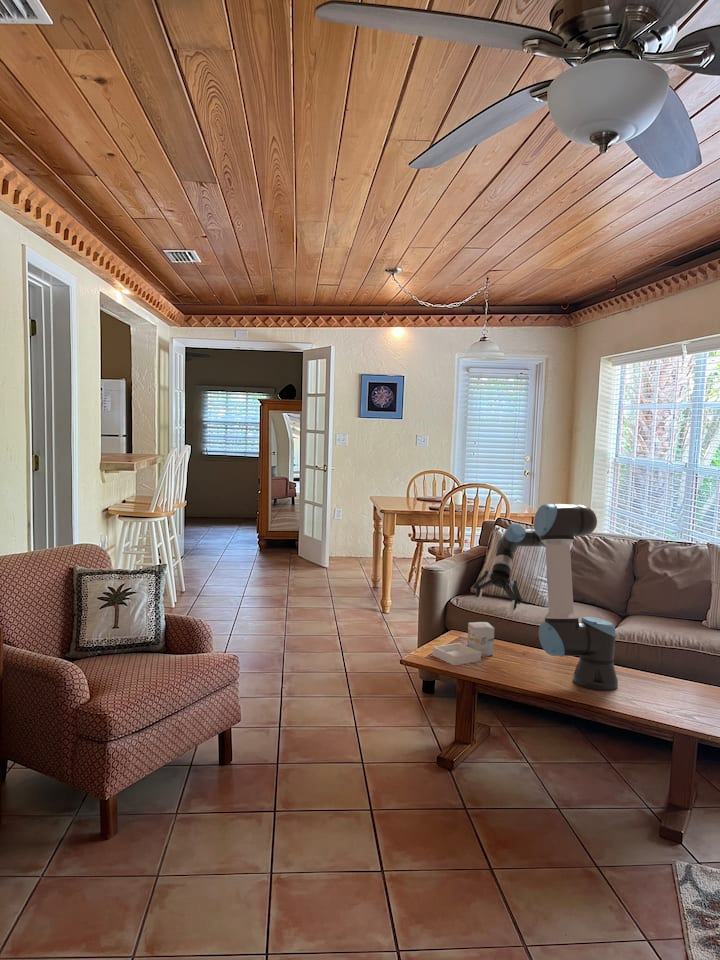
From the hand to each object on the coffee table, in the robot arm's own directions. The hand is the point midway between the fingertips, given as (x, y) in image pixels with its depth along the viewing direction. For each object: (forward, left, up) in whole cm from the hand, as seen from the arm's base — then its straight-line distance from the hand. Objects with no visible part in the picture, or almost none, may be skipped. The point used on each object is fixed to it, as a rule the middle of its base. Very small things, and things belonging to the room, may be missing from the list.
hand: (494, 609), depth 264 cm
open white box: (+3, +16, -19) cm, 25 cm away
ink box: (+5, +2, -19) cm, 20 cm away
